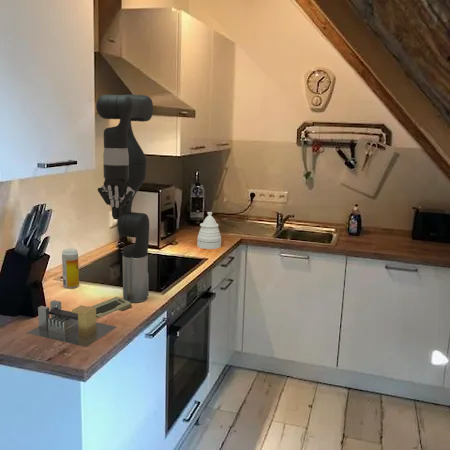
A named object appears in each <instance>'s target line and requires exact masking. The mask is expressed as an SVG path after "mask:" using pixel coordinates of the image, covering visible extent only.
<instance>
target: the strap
mask: <svg viewBox="0 0 450 450" xmlns="http://www.w3.org/2000/svg"><path fill="white" fill-rule="evenodd" d="M49 314H50V316H51V315H56V316H60V317H65V318H70V319H75V320H78V314H77V313H72V311H70V310H66V311H65V310H64V309H61V310H60V309H55V308H51V307H50V308H49Z"/></svg>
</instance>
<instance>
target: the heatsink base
mask: <svg viewBox="0 0 450 450" xmlns="http://www.w3.org/2000/svg"><path fill="white" fill-rule="evenodd" d="M49 305H50V307H49V306H44V305H40V306H38V307H37V311H38V313H37V314H38V326H37V327H35V328H33V329H31V330H29V331H27V332H26V335H29V334H30V335H33V336H38V337H42V338H45V339H51V340H54V341H59V342H63V343H67V344H71V345H76V346H80V347H84V348H87V347H89V346H91V345H92V344H93V343H96V341H98V340H99V339H101V338H103V337H104V336H106V335H107V334H109V333H110V332H112V331H114V330H115V329H116V328H117V326H114V325H111V324H106V323H102V322H101V323H100V322H97V321H96V327H97V331H96V332H94V333H93V334H91V335H89V336H88V337H84V336H79V329H78V320H75V319H70V318H65V317H60V316H56V315H51V314H49V309H51V308H55V309H60V310H62V301H60V300H54V299H53V300H50V303H49ZM65 311H67V310H65Z"/></svg>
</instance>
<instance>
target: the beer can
mask: <svg viewBox="0 0 450 450" xmlns="http://www.w3.org/2000/svg"><path fill="white" fill-rule="evenodd" d="M78 252H79V251H78V250H77V249H76V248H66V249H63V250H62V252H61V266H62V285H63V287H64V288H65V289H68V290H69V289H75V288H77V287H78V286H79V285H80V272H79V253H78Z"/></svg>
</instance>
